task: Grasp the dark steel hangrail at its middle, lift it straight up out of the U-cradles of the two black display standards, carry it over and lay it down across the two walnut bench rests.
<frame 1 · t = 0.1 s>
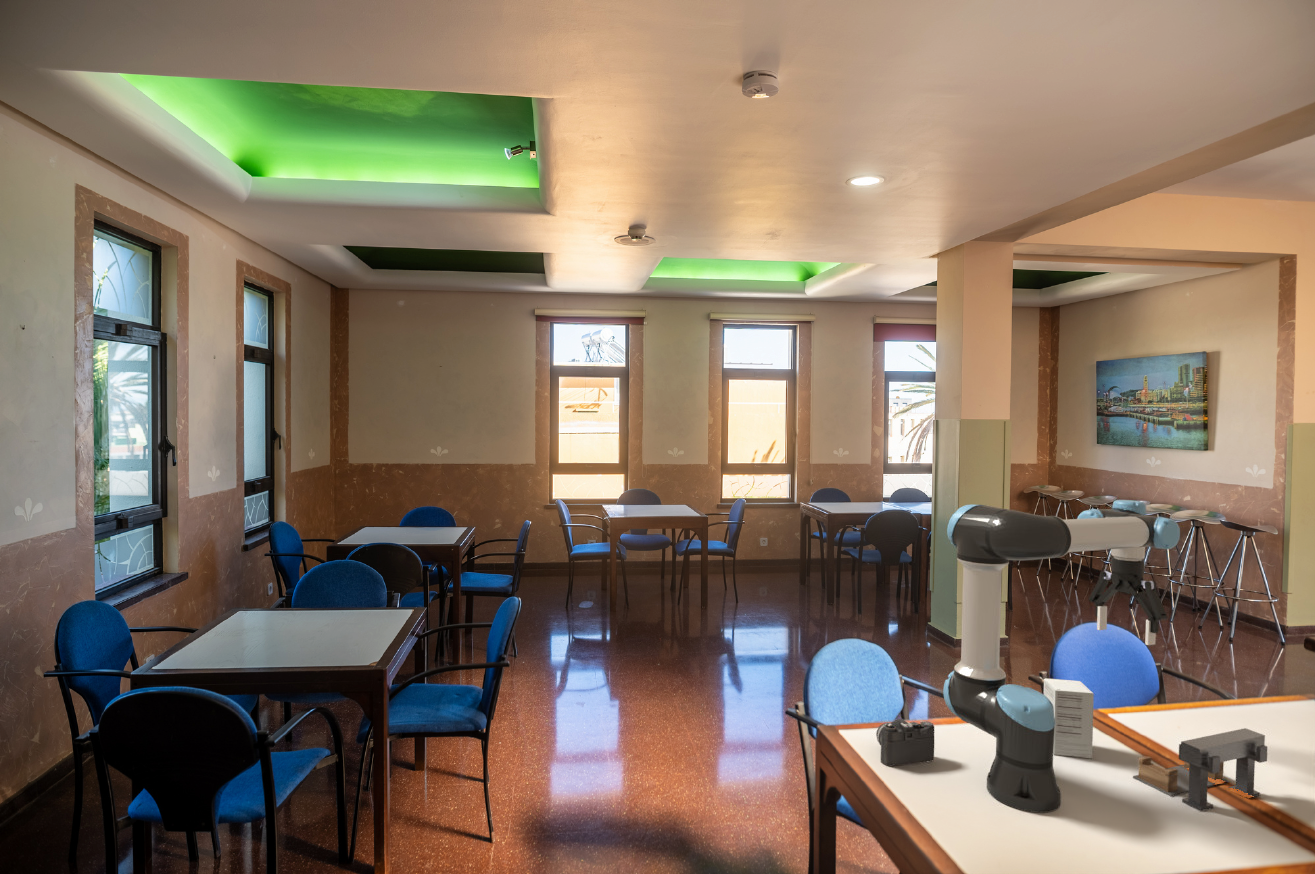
hand: (1125, 636, 192), 28 cm above the table, fingers open, 13 cm apart
supplement box: (1066, 749, 187), on the table
bench rests: (1180, 779, 172), on the table
camera: (900, 756, 183), on the table
standards: (1221, 798, 163), on the table
rail: (1222, 755, 163), point 10 cm above the table, touching standards
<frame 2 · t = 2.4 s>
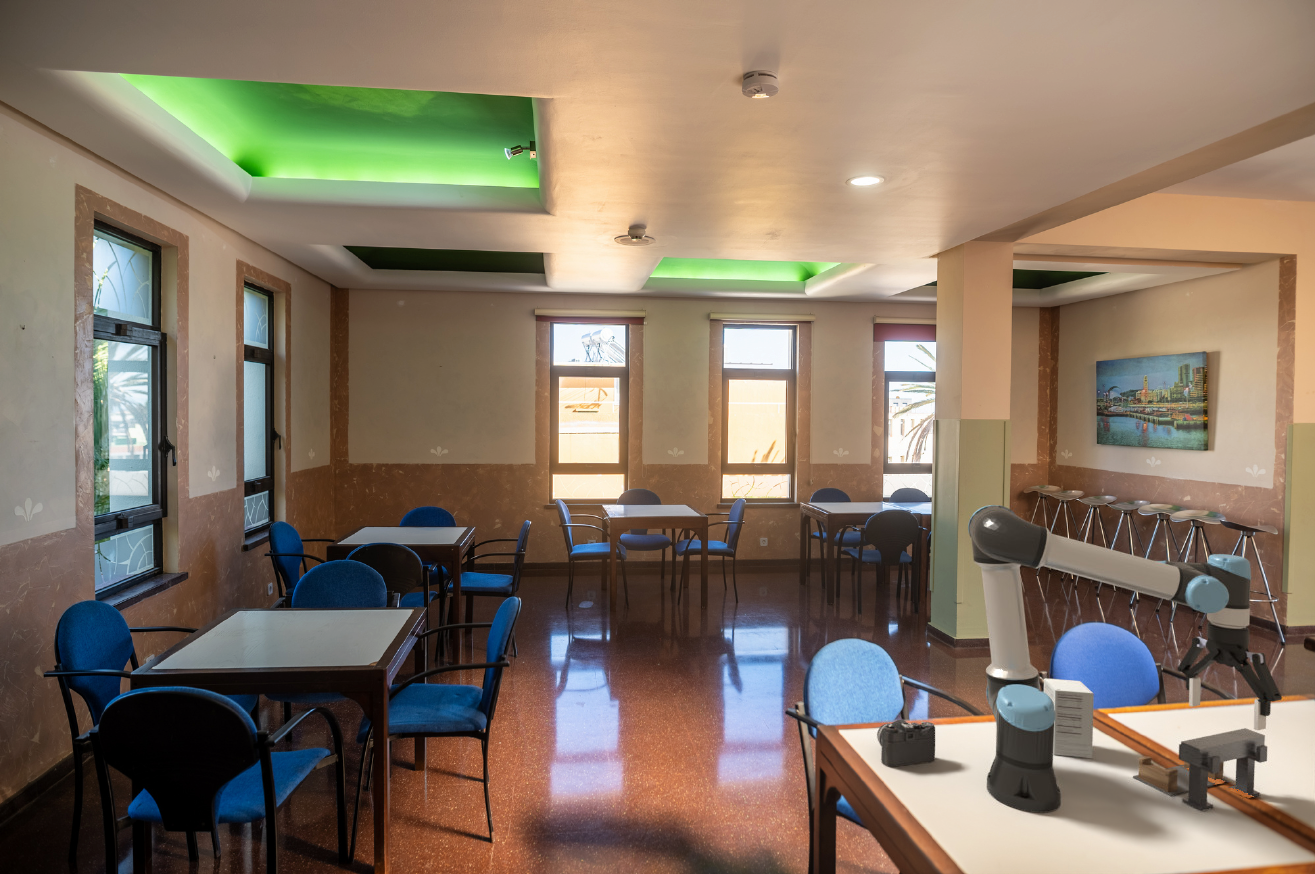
hand: (1225, 716, 163), 19 cm above the table, fingers open, 13 cm apart
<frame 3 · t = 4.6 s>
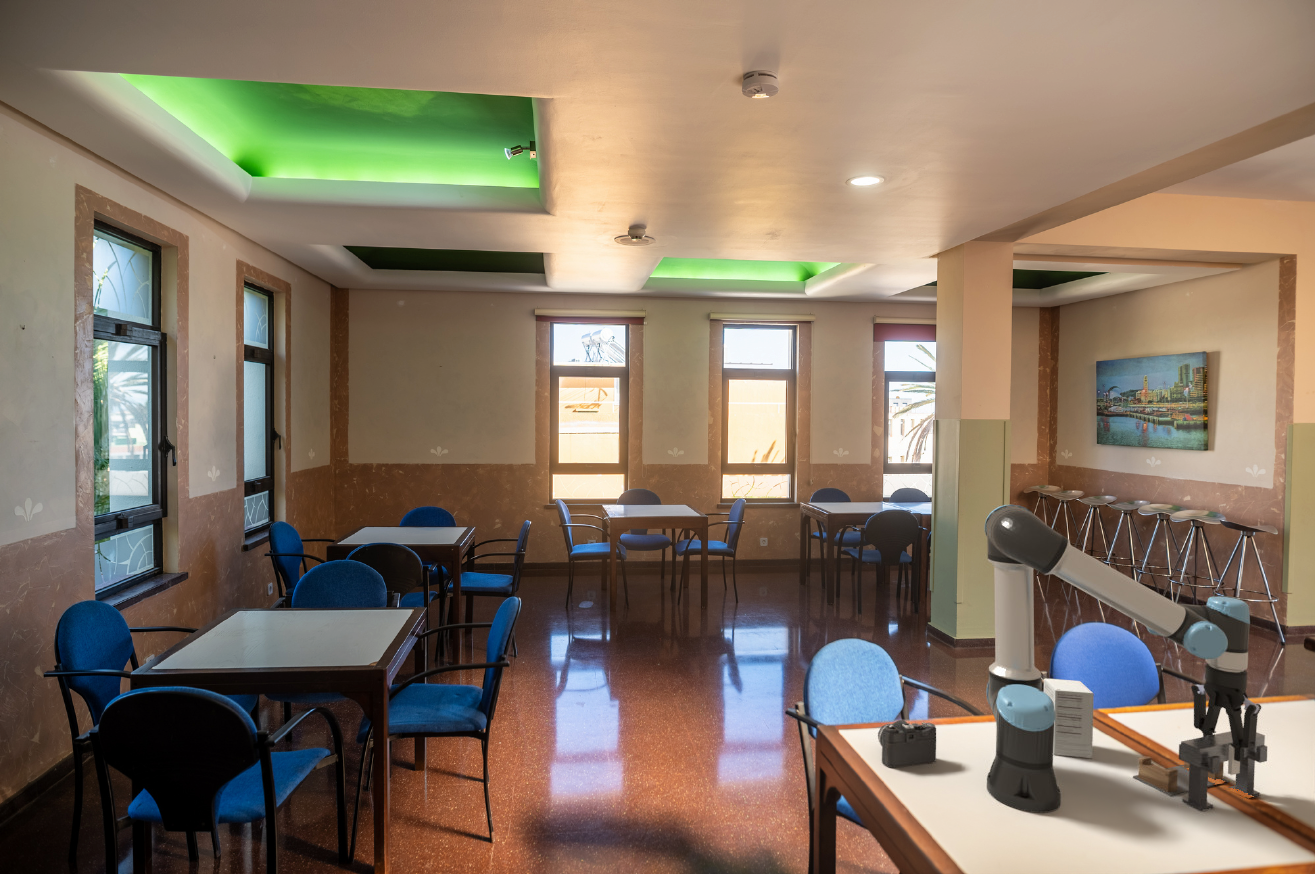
hand: (1222, 767, 163), 7 cm above the table, fingers closed on rail, 4 cm apart
rail: (1222, 755, 163), point 10 cm above the table, touching gripper, standards
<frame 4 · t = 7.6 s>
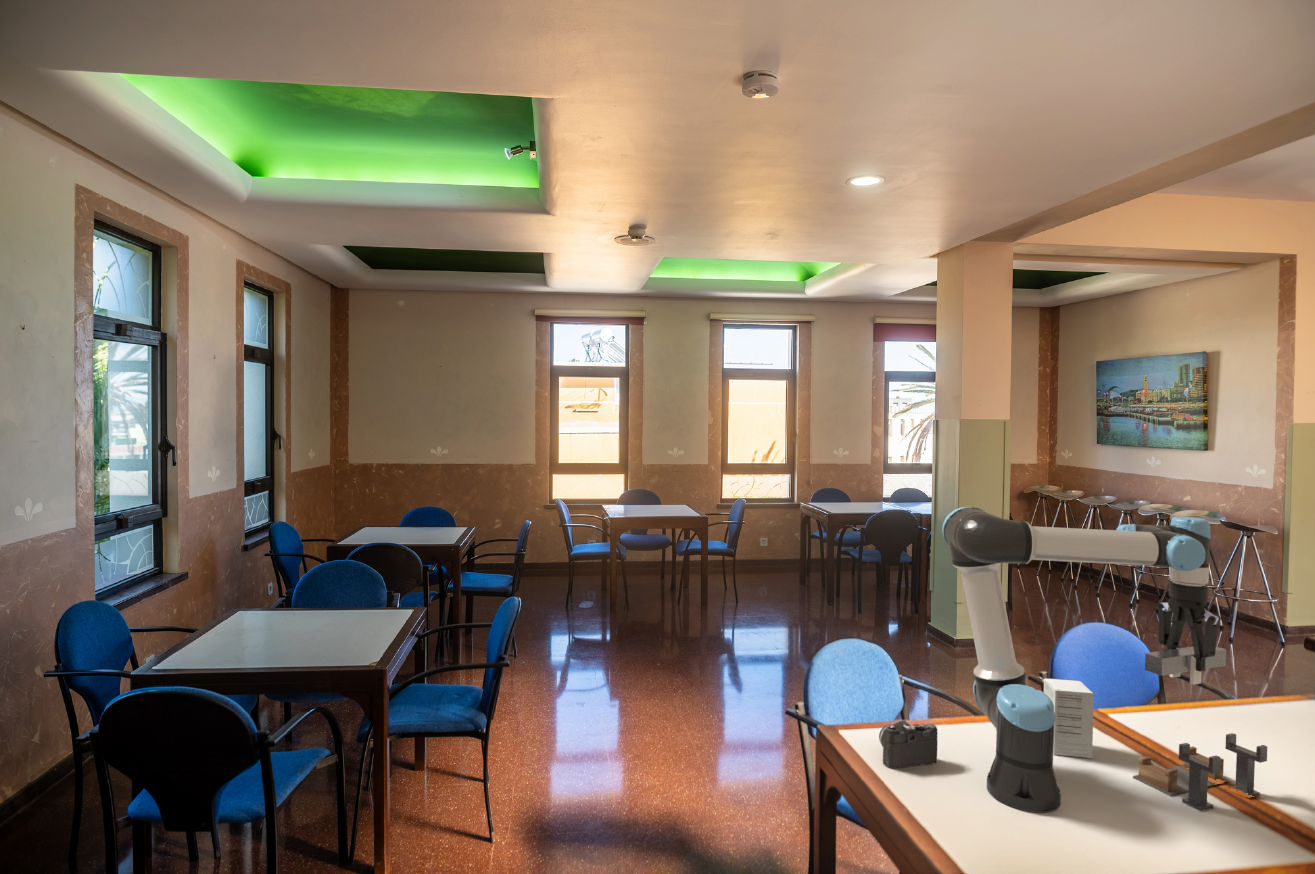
hand: (1185, 679, 171), 24 cm above the table, fingers closed on rail, 4 cm apart
rail: (1185, 667, 171), point 27 cm above the table, touching gripper
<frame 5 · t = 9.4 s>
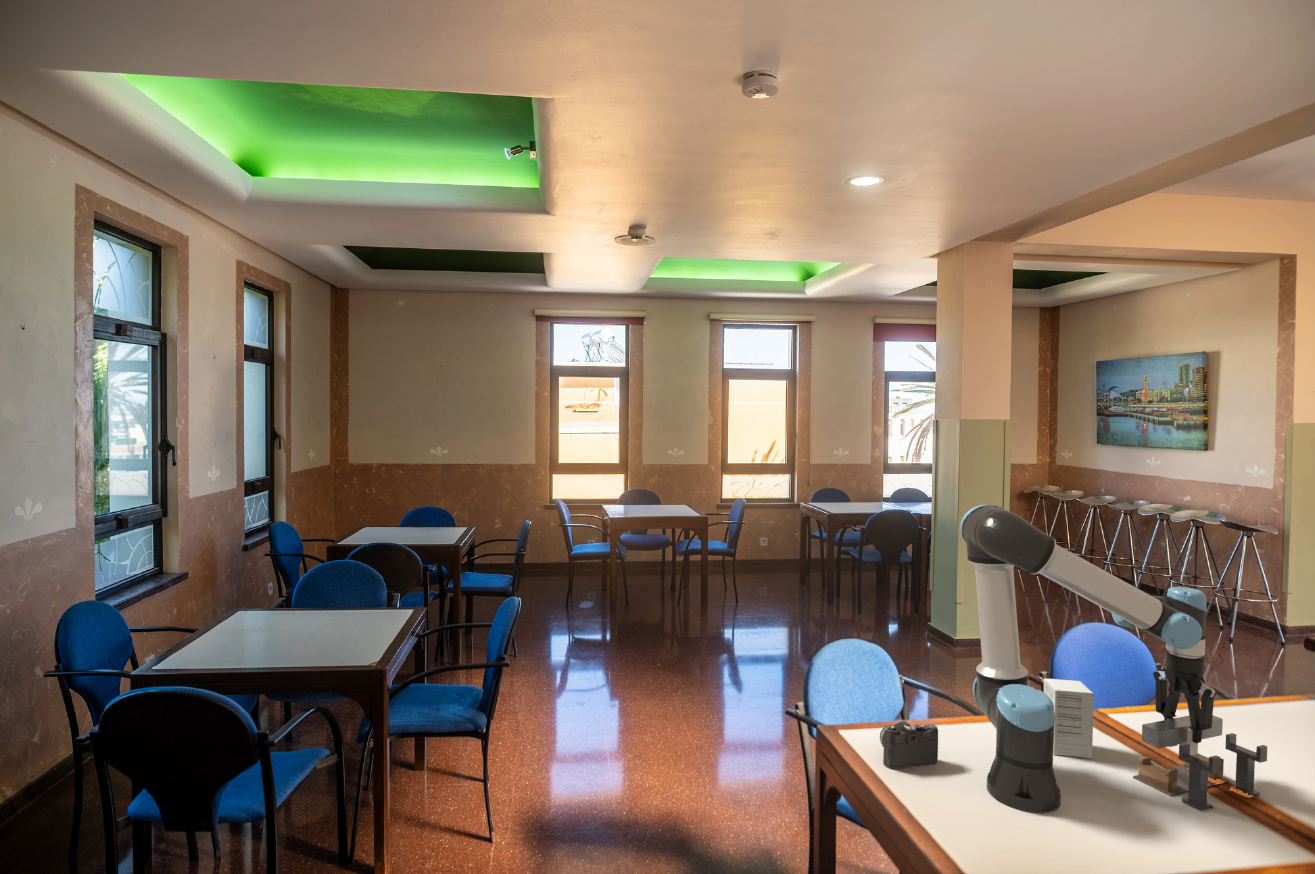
hand: (1181, 749, 172), 7 cm above the table, fingers closed on rail, 4 cm apart
rail: (1182, 737, 172), point 10 cm above the table, touching gripper
when the fingers open (3 cm above the table, at t = 11.0 s): rail drops 1 cm, resting on bench rests.
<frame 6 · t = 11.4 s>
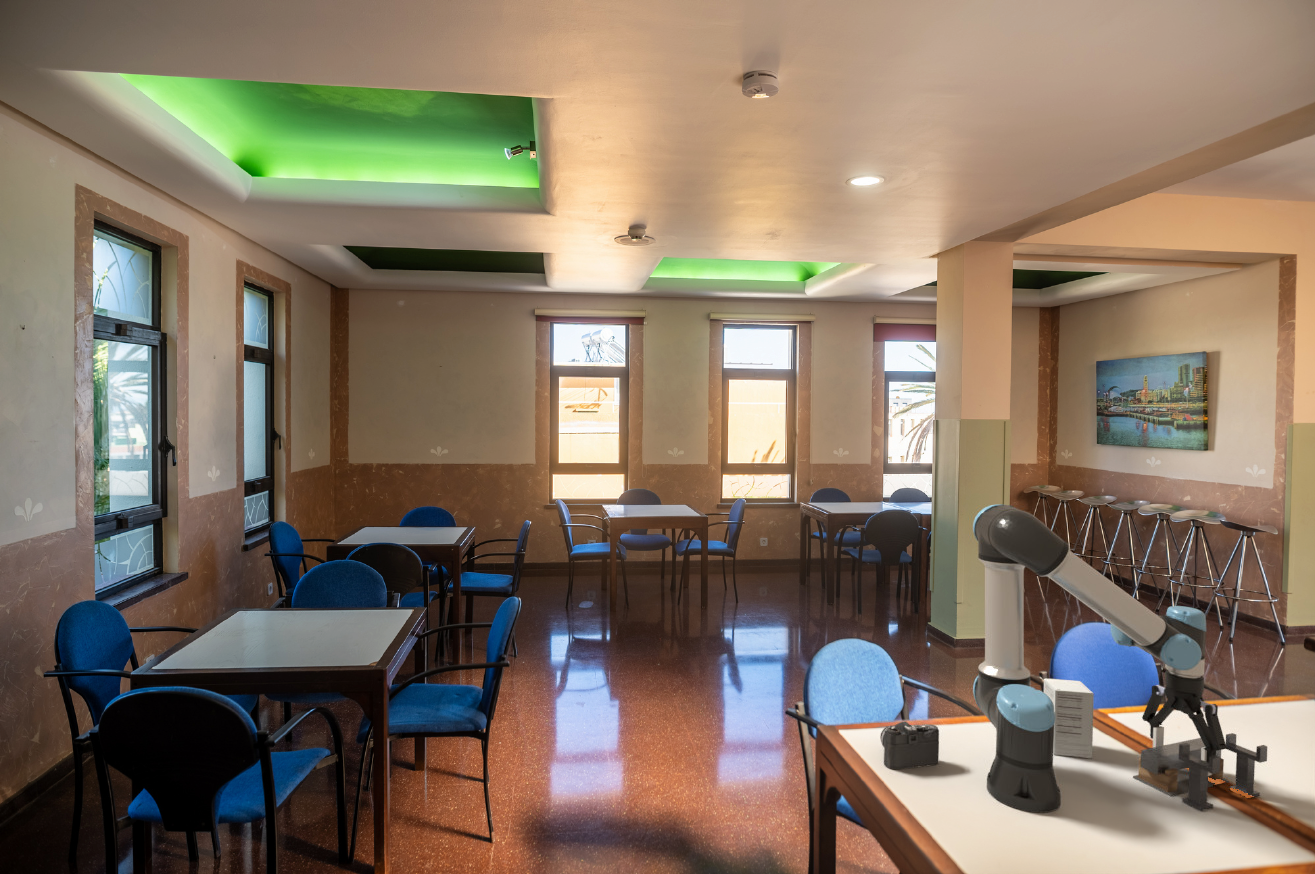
hand: (1181, 763, 172), 4 cm above the table, fingers open, 10 cm apart
rail: (1181, 763, 172), point 4 cm above the table, touching bench rests
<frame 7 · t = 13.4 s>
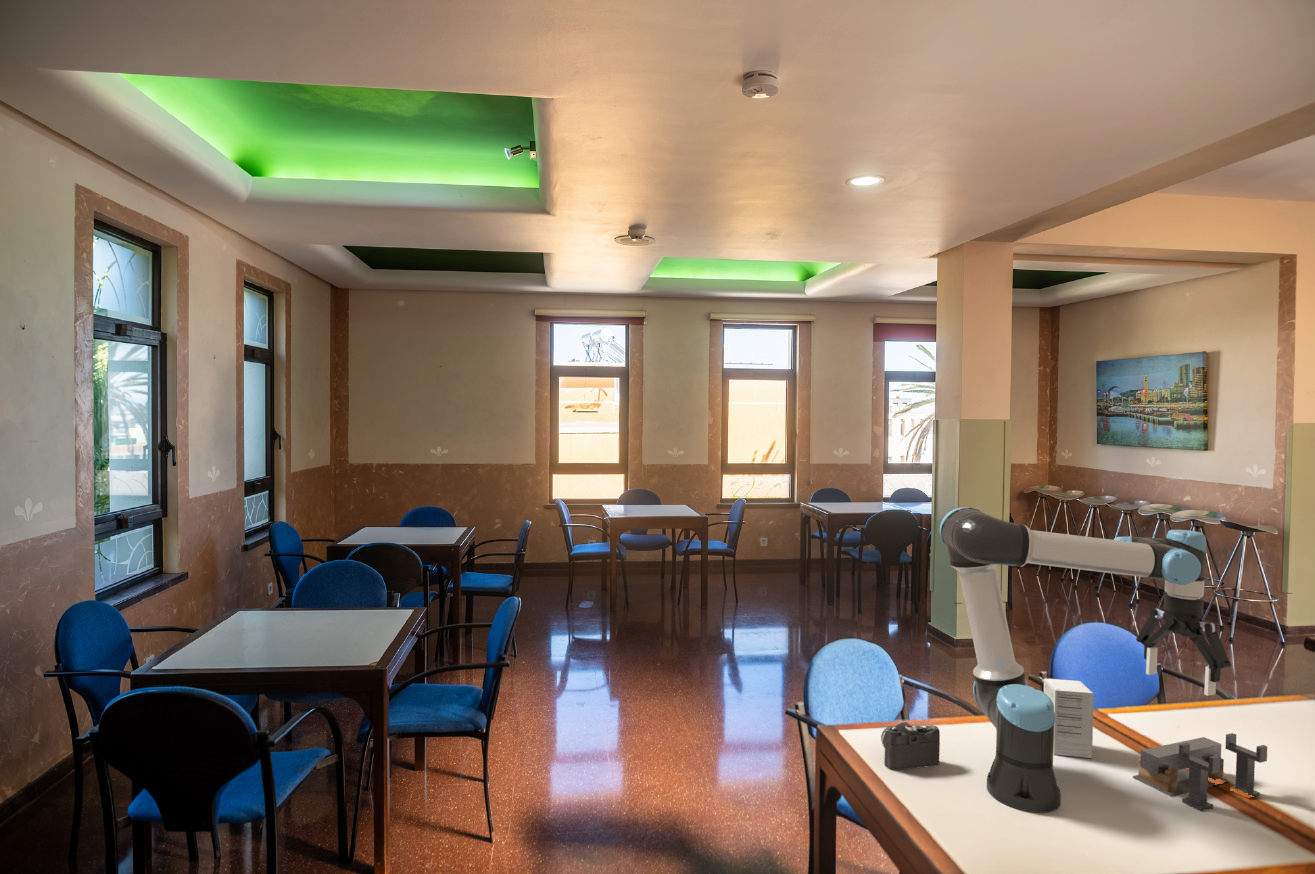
hand: (1179, 683, 171), 23 cm above the table, fingers open, 13 cm apart
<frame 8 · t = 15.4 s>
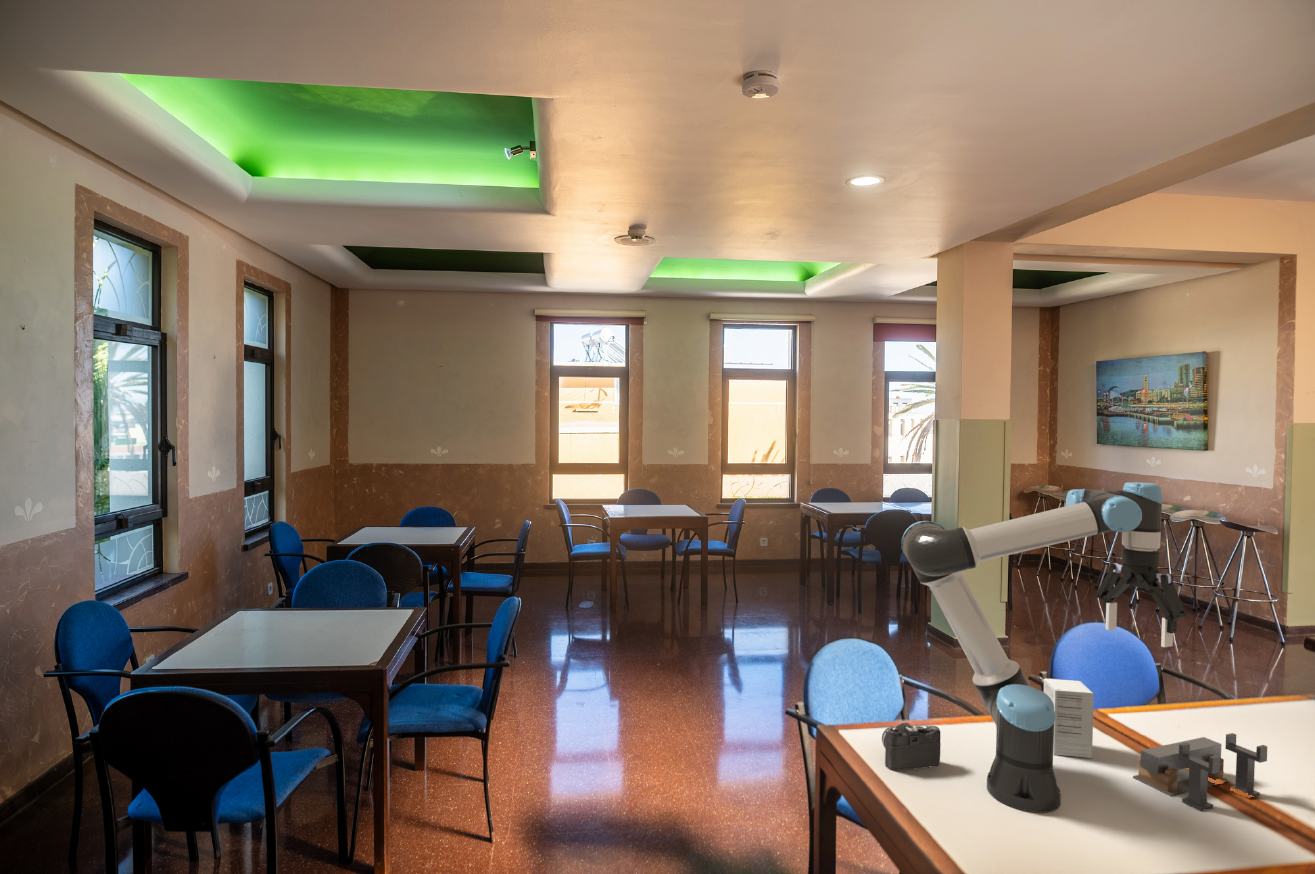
hand: (1137, 637, 170), 35 cm above the table, fingers open, 13 cm apart
at the end: rail 0.0 cm off-centre on the bench rests, point 4.0 cm above the bench rests's base; rail tilted 0°; the gripper is holding nothing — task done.
